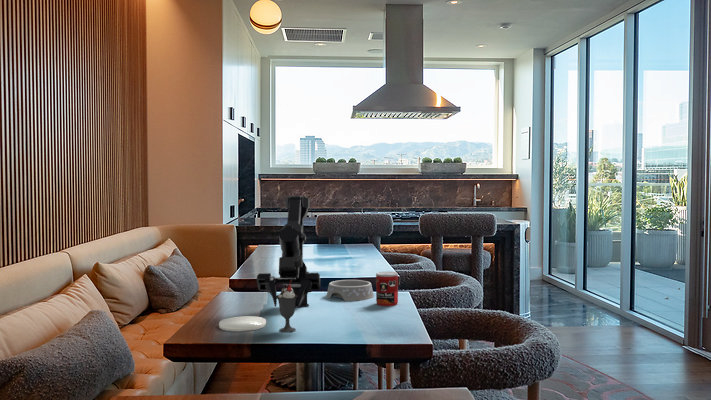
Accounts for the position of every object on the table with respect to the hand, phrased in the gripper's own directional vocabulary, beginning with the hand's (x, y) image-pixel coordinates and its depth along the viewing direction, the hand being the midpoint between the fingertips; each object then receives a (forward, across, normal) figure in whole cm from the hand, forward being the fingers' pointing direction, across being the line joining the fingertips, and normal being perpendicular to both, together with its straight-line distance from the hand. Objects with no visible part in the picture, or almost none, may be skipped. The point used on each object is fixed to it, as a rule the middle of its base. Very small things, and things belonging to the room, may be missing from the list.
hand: (286, 305), depth 167 cm
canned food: (-20, +32, +31) cm, 49 cm away
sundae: (+4, 0, +6) cm, 8 cm away
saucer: (0, -14, +11) cm, 18 cm away
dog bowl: (-30, +18, +42) cm, 55 cm away
